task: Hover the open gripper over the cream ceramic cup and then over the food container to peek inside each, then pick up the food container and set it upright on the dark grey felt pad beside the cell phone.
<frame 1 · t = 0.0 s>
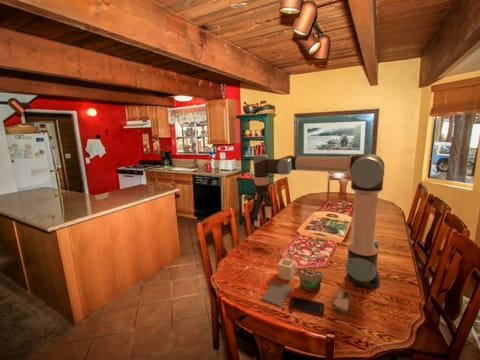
hand: (262, 221, 130), 28 cm above the table, fingers open, 13 cm apart
food container: (309, 291, 114), on the table
felt pad: (277, 293, 114), on the table
cup: (286, 276, 127), on the table
cell phone: (306, 307, 105), on the table
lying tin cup: (341, 308, 102), on the table
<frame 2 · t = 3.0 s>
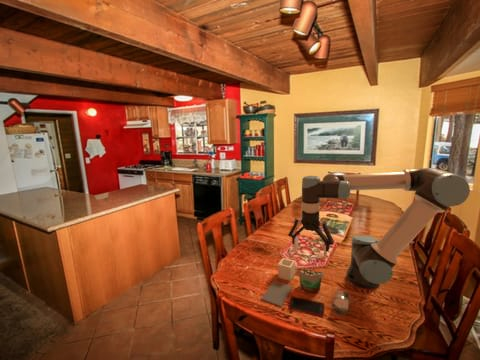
hand: (310, 253, 110), 20 cm above the table, fingers open, 13 cm apart
nothing on the table moved.
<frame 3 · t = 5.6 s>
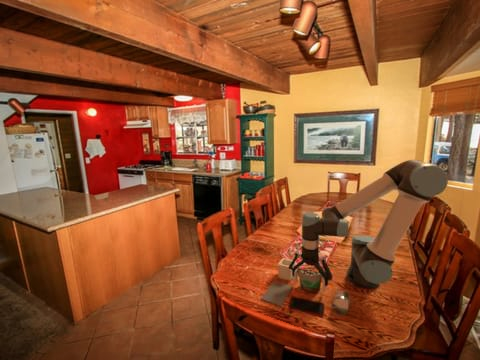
hand: (309, 286, 114), 2 cm above the table, fingers open, 13 cm apart
food container: (309, 291, 114), on the table, touching gripper
everything else where it was.
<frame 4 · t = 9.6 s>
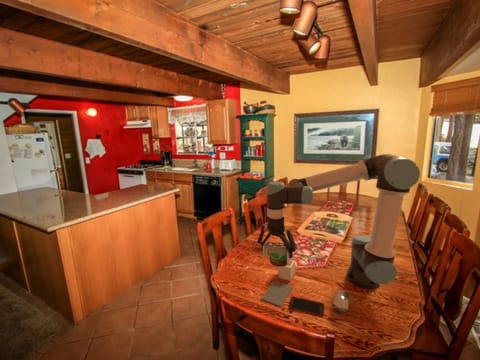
hand: (276, 260, 110), 17 cm above the table, fingers closed on food container, 11 cm apart
food container: (278, 264, 110), point 16 cm above the table, touching gripper
everything else where it was.
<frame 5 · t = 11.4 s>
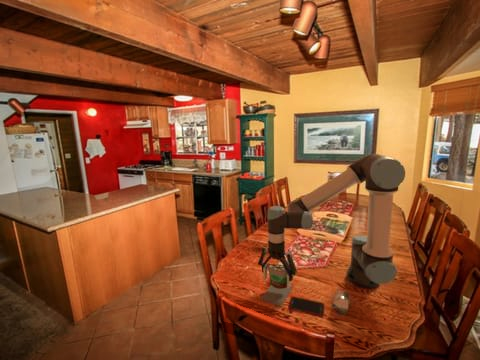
hand: (276, 282, 112), 6 cm above the table, fingers closed on food container, 11 cm apart
food container: (278, 286, 113), point 4 cm above the table, touching gripper
everything else where it was.
when the fingers open (4 cm above the table, at t = 13.0 s): food container drops 2 cm, resting on felt pad.
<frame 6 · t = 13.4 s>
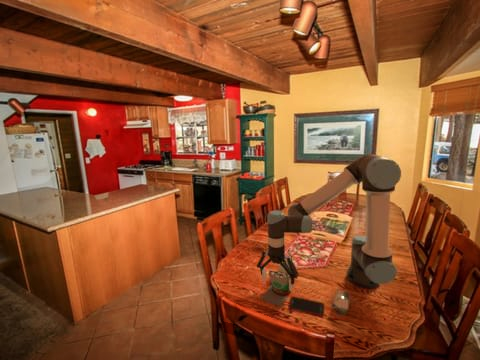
hand: (277, 285, 113), 5 cm above the table, fingers open, 13 cm apart
food container: (280, 293, 113), resting on felt pad
everything else where it was.
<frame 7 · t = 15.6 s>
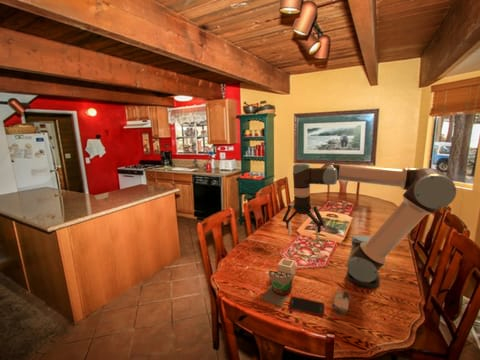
hand: (303, 236, 118), 24 cm above the table, fingers open, 13 cm apart
nothing on the table moved.
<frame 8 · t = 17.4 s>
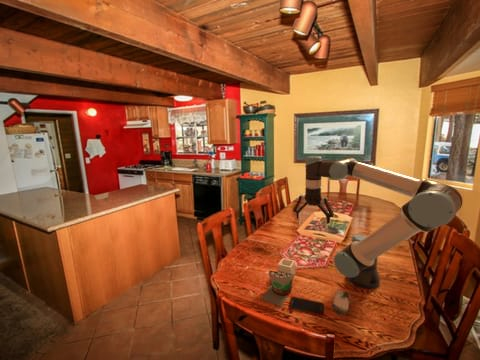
hand: (312, 226, 123), 27 cm above the table, fingers open, 13 cm apart
nothing on the table moved.
at the end: food container inside the target area on the felt pad (1.5 cm from its centre), point 0.4 cm above the felt pad's base; food container tilted 0°; the gripper is holding nothing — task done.
